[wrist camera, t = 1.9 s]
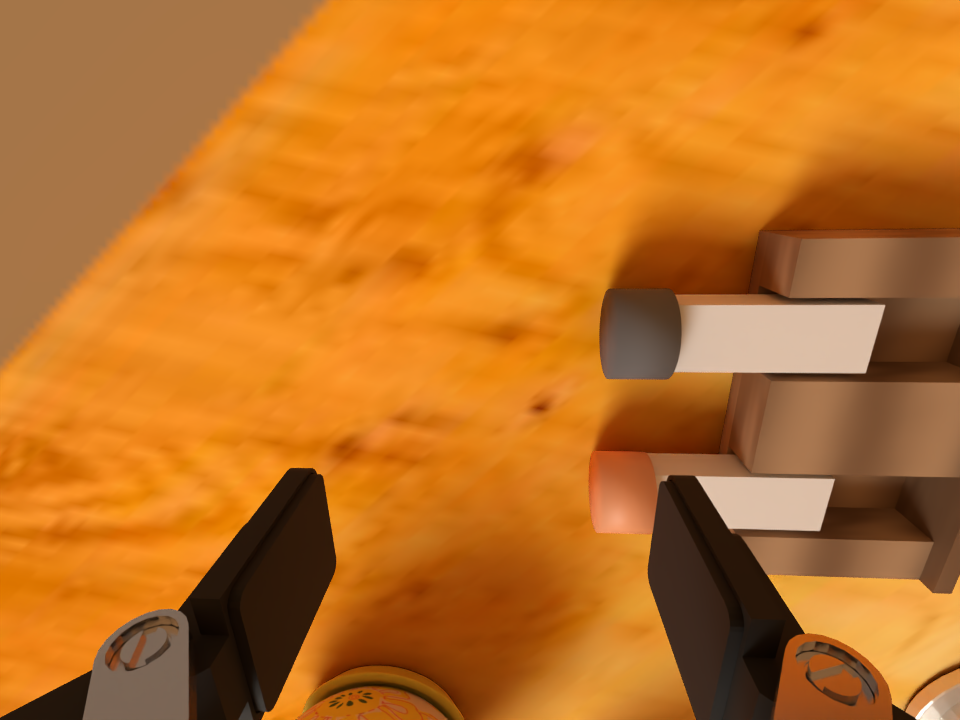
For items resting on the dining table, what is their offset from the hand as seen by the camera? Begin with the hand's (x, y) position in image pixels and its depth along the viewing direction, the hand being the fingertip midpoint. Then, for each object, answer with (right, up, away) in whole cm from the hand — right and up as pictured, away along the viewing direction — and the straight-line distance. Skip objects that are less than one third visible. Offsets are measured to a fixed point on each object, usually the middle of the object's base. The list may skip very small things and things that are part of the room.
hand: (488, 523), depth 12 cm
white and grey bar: (+13, +6, +16) cm, 21 cm away
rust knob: (+13, -3, +19) cm, 24 cm away
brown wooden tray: (+21, +2, +17) cm, 27 cm away
